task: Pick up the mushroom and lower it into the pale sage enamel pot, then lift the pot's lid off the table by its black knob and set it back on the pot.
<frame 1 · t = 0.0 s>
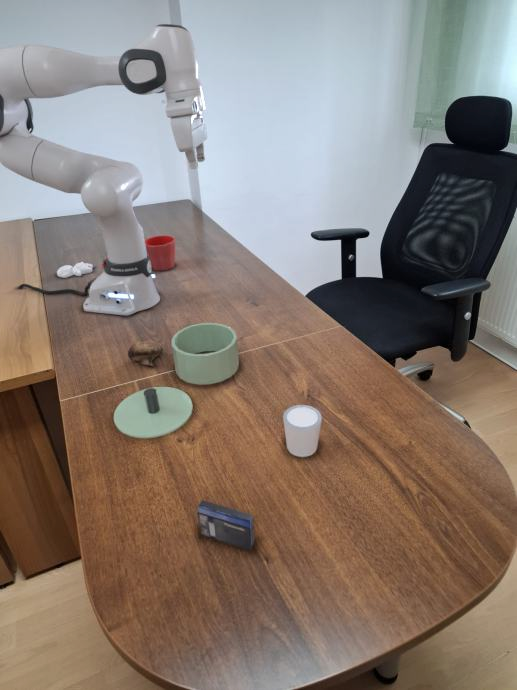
hand: (198, 164, 118), 39 cm above the table, tool pointing down, fingers open, 8 cm apart
pot: (207, 367, 108), on the table
white cup: (301, 446, 85), on the table
mushroom: (147, 362, 112), on the table
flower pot: (163, 267, 164), on the table
astronaut figurine: (76, 273, 163), on the table
lid: (153, 411, 94), point 1 cm above the table
mini dv tape: (227, 539, 69), on the table
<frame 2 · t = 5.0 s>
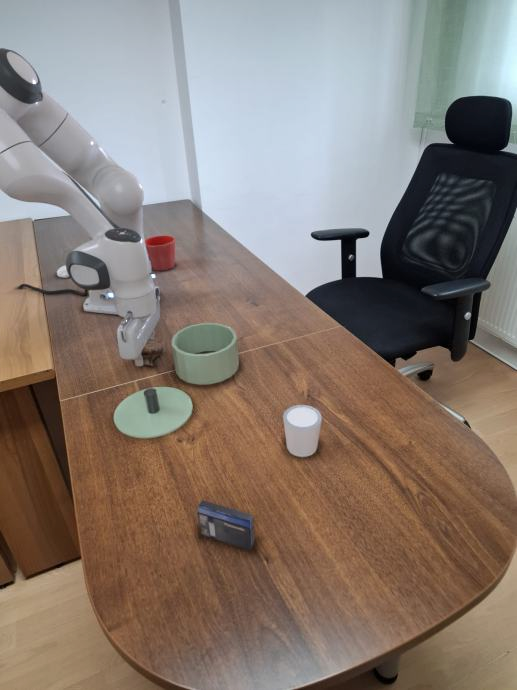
hand: (145, 354, 110), 2 cm above the table, tool pointing down, fingers closed on mushroom, 7 cm apart
mushroom: (147, 363, 112), on the table, touching gripper
everything else where it was.
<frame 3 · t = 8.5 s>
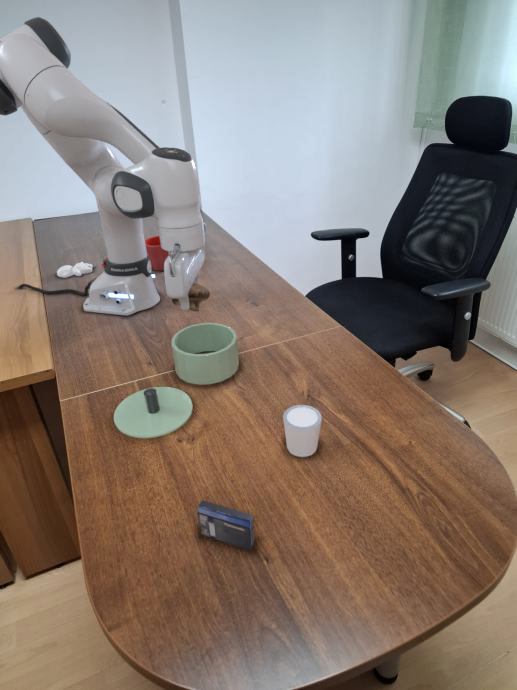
hand: (190, 299, 99), 18 cm above the table, tool pointing down, fingers closed on mushroom, 7 cm apart
mushroom: (192, 309, 100), point 15 cm above the table, touching gripper
everything else where it was.
when the fingers open (2 cm above the table, at t = 12.2 s): mushroom stays where it is, resting on pot.
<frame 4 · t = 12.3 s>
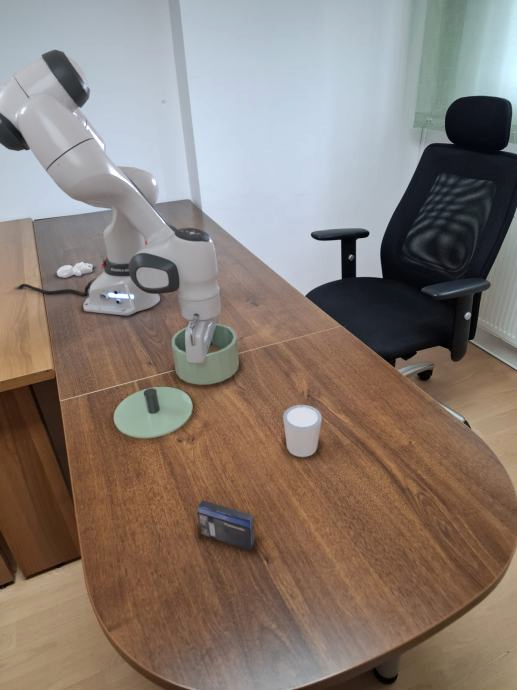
hand: (206, 358, 107), 3 cm above the table, tool pointing down, fingers open, 8 cm apart
mushroom: (207, 367, 108), resting on pot
everything else where it was.
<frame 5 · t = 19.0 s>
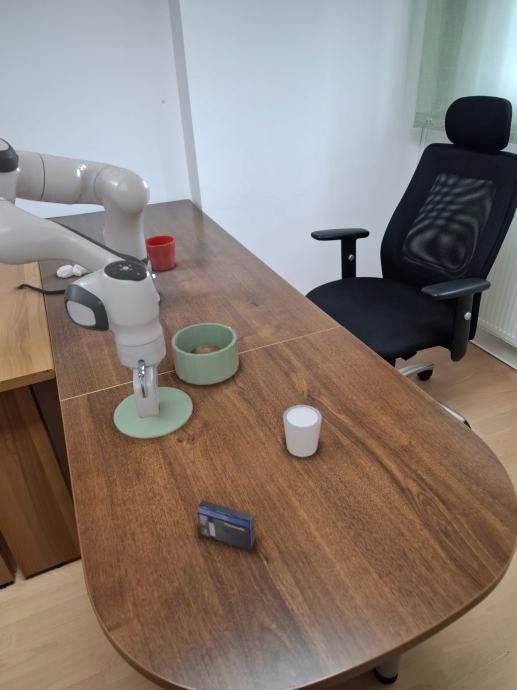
hand: (152, 405, 94), 2 cm above the table, tool pointing down, fingers closed on lid, 2 cm apart
lid: (153, 411, 94), point 1 cm above the table, touching gripper
everything else where it was.
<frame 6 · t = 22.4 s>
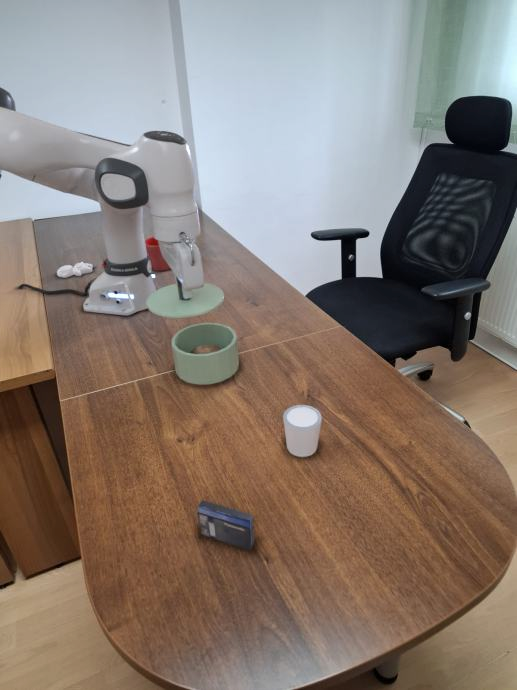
hand: (184, 293, 94), 21 cm above the table, tool pointing down, fingers closed on lid, 2 cm apart
lid: (185, 299, 95), point 20 cm above the table, touching gripper
everything else where it was.
when the fingers open (9 cm above the table, at t = 25.7 s): lid stays where it is, resting on pot.
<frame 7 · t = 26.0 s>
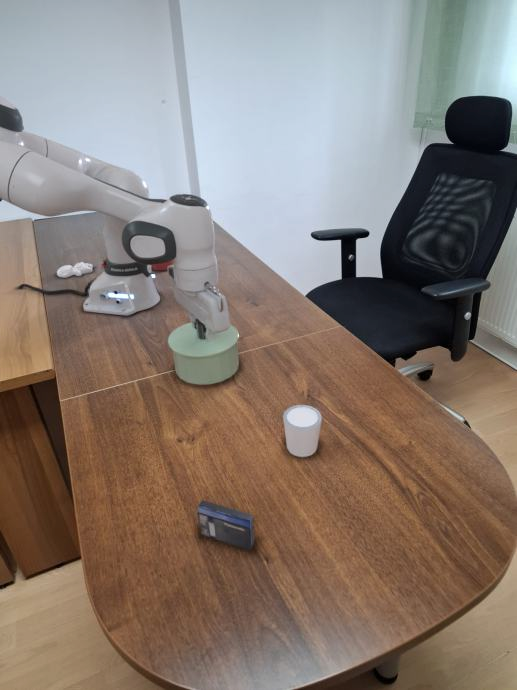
hand: (203, 333, 104), 9 cm above the table, tool pointing down, fingers open, 5 cm apart
lid: (203, 338, 104), point 8 cm above the table, touching pot
everything else where it was.
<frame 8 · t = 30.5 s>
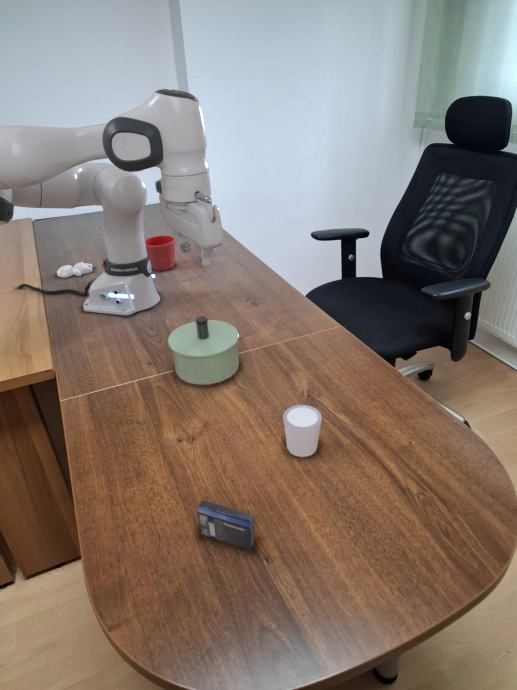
hand: (195, 257, 94), 27 cm above the table, tool pointing down, fingers open, 8 cm apart
nothing on the table moved.
at the end: mushroom inside the target area in the pot (0.3 cm from its centre), point 0.3 cm above the pot's base; lid 0.1 cm off-centre on the pot, point 8.0 cm above the pot's base; lid tilted 0° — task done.
